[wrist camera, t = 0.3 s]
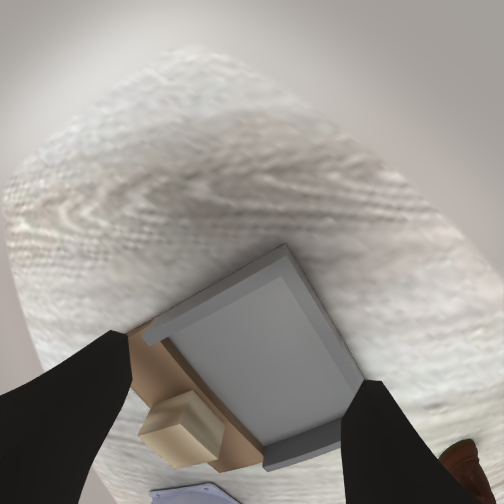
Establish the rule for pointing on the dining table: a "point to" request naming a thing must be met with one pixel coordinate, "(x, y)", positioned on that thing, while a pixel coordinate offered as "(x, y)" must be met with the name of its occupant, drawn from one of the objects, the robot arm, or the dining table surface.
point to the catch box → (268, 356)
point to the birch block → (183, 431)
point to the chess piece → (468, 470)
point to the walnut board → (181, 381)
